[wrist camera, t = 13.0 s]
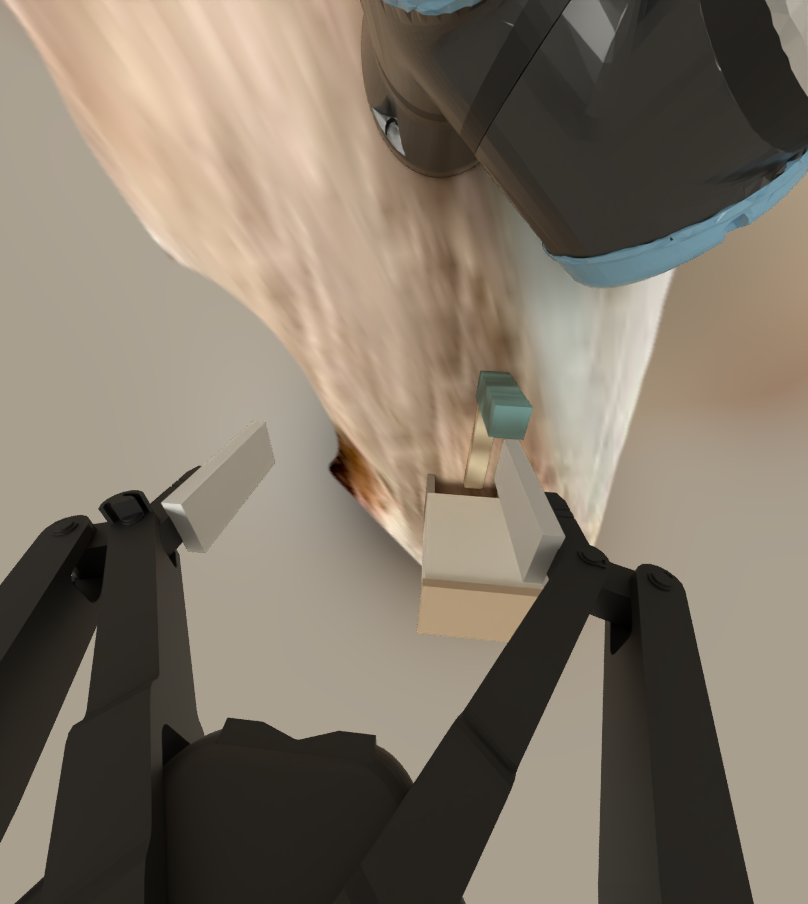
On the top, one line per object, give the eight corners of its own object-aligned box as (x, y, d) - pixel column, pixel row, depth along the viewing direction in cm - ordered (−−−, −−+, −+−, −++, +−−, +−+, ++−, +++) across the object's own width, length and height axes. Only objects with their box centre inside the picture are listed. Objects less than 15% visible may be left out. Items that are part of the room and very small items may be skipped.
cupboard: (425, 472, 53) (422, 586, 34) (510, 478, 52) (552, 598, 34) (421, 516, 59) (416, 633, 40) (497, 522, 58) (527, 644, 40)
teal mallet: (480, 370, 42) (495, 405, 32) (508, 372, 42) (532, 407, 32) (460, 480, 53) (467, 532, 43) (483, 482, 53) (495, 534, 43)
